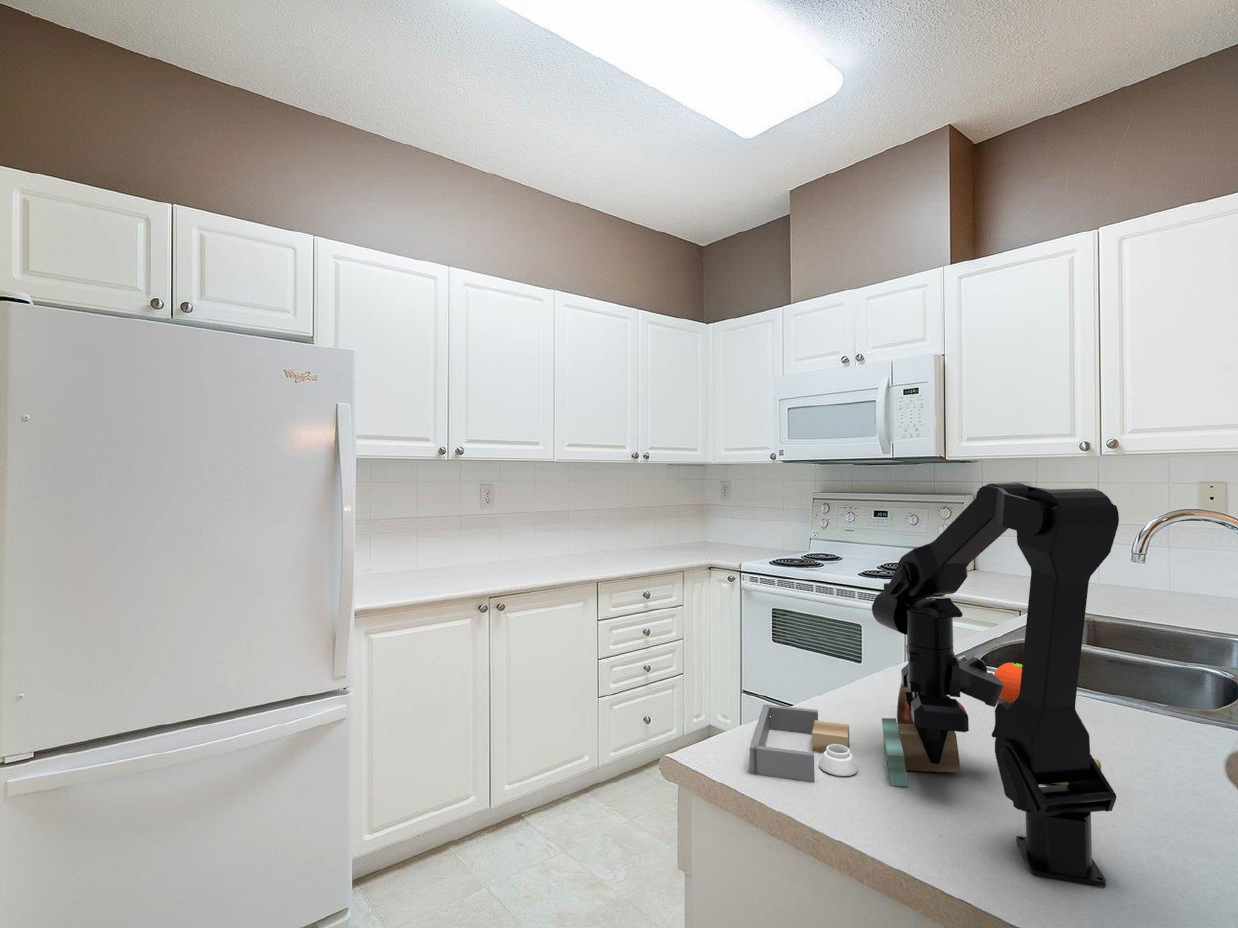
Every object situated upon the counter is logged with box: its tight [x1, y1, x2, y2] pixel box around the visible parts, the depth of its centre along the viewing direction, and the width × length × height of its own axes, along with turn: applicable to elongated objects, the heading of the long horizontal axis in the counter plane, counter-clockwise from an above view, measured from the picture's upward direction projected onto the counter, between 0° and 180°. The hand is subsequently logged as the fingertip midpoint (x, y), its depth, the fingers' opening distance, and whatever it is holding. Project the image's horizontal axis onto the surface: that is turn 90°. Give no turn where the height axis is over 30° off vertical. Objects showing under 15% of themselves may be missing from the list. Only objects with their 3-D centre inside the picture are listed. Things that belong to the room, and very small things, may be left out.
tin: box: [896, 681, 914, 725], centre depth 104 cm, size 15×3×8 cm, turn 145°
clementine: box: [993, 662, 1022, 702], centre depth 111 cm, size 8×7×7 cm
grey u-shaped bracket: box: [749, 704, 819, 783], centre depth 94 cm, size 17×8×4 cm, turn 161°
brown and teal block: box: [881, 717, 962, 788], centre depth 88 cm, size 13×9×5 cm
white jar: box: [819, 744, 859, 777], centre depth 89 cm, size 5×3×5 cm
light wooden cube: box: [811, 719, 850, 754], centre depth 96 cm, size 5×5×3 cm
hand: (932, 756), depth 88 cm, fingers closed on brown and teal block, 3 cm apart
